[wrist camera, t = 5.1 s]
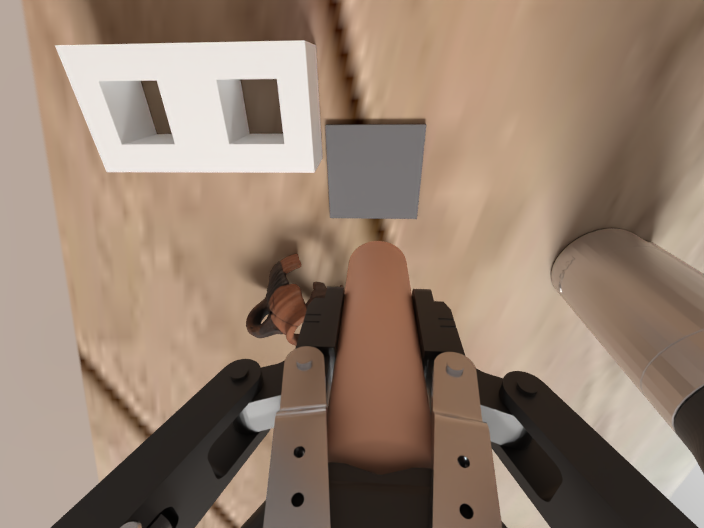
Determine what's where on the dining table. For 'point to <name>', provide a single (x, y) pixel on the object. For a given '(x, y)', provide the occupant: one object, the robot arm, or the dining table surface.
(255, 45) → the socket block
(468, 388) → the robot arm
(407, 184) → the mat
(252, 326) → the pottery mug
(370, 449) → the dowel
